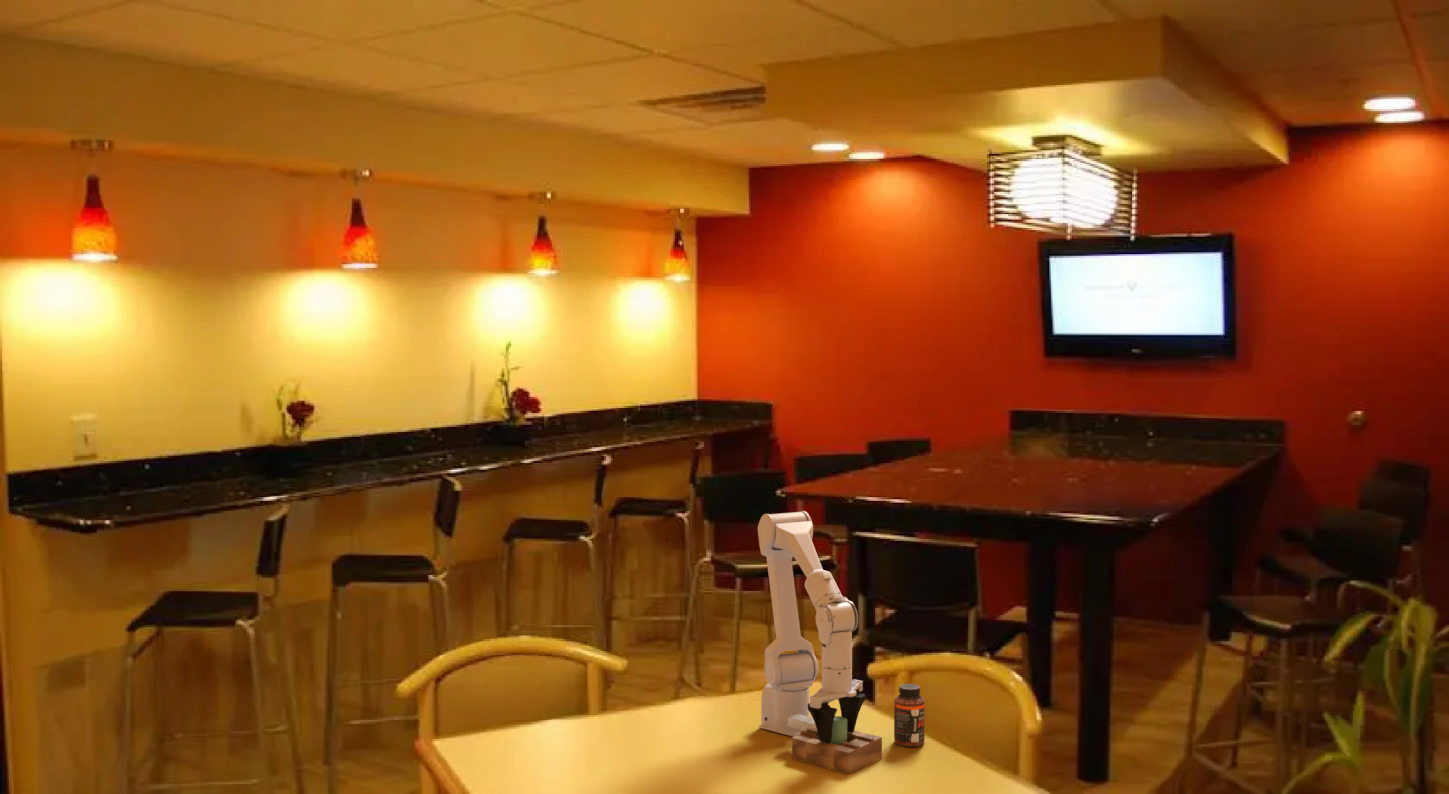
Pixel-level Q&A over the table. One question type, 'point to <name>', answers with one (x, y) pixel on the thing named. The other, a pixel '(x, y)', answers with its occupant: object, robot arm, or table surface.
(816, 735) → the dock
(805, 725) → the tan rectangular block
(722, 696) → the table surface
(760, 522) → the robot arm
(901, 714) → the supplement bottle
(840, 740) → the peg
